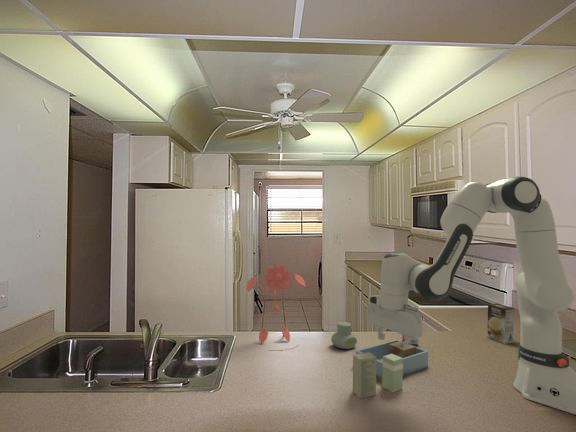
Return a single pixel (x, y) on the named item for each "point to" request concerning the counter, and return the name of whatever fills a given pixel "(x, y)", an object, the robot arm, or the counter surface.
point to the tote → (409, 362)
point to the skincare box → (364, 374)
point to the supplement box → (411, 341)
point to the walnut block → (401, 350)
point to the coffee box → (500, 323)
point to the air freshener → (344, 336)
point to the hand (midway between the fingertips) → (392, 343)
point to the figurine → (275, 281)
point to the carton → (392, 372)
